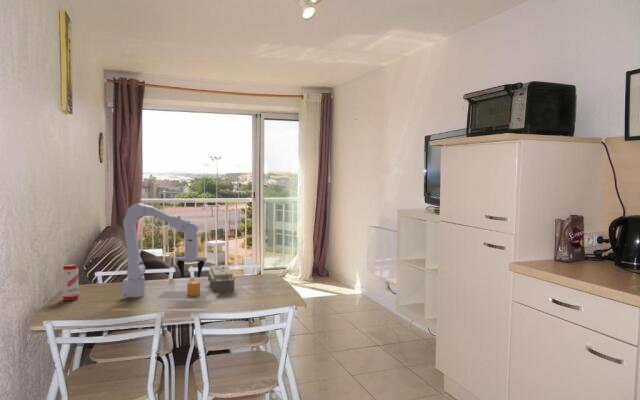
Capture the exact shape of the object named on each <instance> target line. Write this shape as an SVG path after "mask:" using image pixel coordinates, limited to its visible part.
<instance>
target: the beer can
mask: <svg viewBox="0 0 640 400" xmlns="http://www.w3.org/2000/svg"><path fill="white" fill-rule="evenodd" d="M79 290H80V289H79V267H78V266H77V263H67V264H64V265H63V268H62V299H63V301H65V300H73V301H76V300H78V298H79V294H80V293H79ZM75 299H76V300H75Z"/></svg>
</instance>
